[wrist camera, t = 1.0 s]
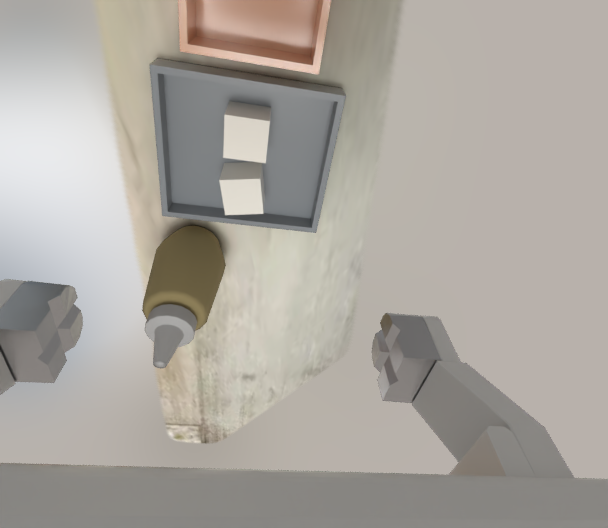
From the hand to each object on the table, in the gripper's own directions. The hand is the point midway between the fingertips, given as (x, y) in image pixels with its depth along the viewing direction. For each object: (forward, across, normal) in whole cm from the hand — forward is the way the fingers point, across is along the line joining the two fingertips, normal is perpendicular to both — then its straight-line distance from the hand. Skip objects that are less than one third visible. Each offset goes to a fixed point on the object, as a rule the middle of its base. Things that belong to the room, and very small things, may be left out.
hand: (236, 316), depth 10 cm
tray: (+32, +1, +8) cm, 33 cm away
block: (+32, +1, +11) cm, 33 cm away
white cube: (+31, +1, +5) cm, 32 cm away
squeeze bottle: (+33, +7, +21) cm, 39 cm away
